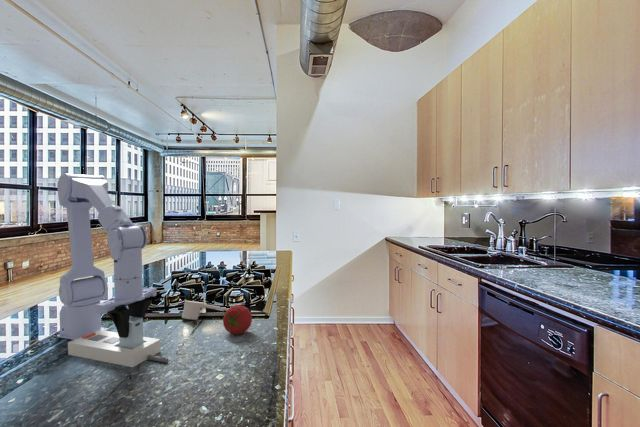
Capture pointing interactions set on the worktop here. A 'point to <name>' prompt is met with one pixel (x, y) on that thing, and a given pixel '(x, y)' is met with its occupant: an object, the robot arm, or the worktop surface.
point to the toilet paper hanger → (197, 309)
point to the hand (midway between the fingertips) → (130, 333)
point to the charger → (133, 333)
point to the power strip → (114, 349)
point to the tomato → (237, 319)
